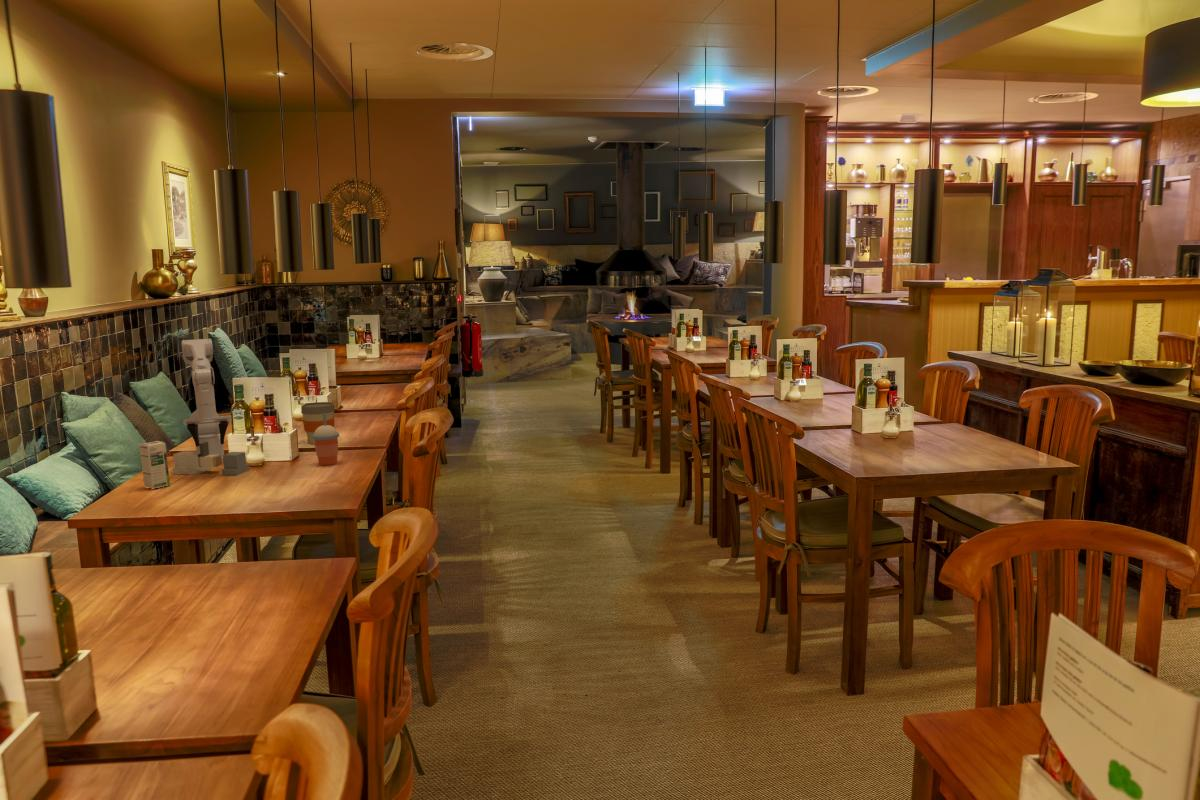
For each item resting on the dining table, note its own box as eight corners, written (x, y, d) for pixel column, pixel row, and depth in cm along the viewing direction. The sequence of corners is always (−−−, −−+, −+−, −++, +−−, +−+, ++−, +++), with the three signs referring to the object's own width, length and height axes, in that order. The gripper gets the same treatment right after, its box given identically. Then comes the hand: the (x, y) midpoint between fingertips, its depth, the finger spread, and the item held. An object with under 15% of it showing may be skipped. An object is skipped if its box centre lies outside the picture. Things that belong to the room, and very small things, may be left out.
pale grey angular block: (178, 466, 299) (176, 443, 298) (185, 463, 303) (183, 441, 302) (216, 467, 297) (213, 444, 296) (222, 464, 300) (220, 441, 299)
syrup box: (152, 490, 277) (147, 445, 275) (143, 487, 281) (138, 443, 278) (170, 486, 282) (165, 442, 279) (161, 483, 285) (156, 440, 283)
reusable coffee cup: (304, 440, 350) (301, 403, 347) (336, 437, 353) (334, 401, 351) (303, 446, 338) (300, 408, 336) (337, 443, 342) (334, 405, 339)
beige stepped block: (172, 474, 298) (170, 455, 297) (187, 468, 306) (185, 450, 304) (196, 474, 296) (194, 455, 295) (210, 469, 304) (209, 450, 303)
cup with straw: (336, 466, 303) (332, 415, 301) (310, 466, 304) (306, 415, 301) (344, 460, 312) (341, 410, 310) (319, 460, 313) (315, 411, 310)
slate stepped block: (222, 475, 295) (220, 456, 293) (235, 469, 302) (234, 450, 301) (235, 475, 294) (233, 456, 293) (249, 469, 301) (247, 451, 300)
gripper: (179, 407, 286) (183, 448, 287) (227, 403, 289) (231, 444, 290) (184, 405, 292) (188, 446, 293) (230, 402, 296) (234, 442, 297)
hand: (210, 445), depth 292 cm, fingers open, 7 cm apart
